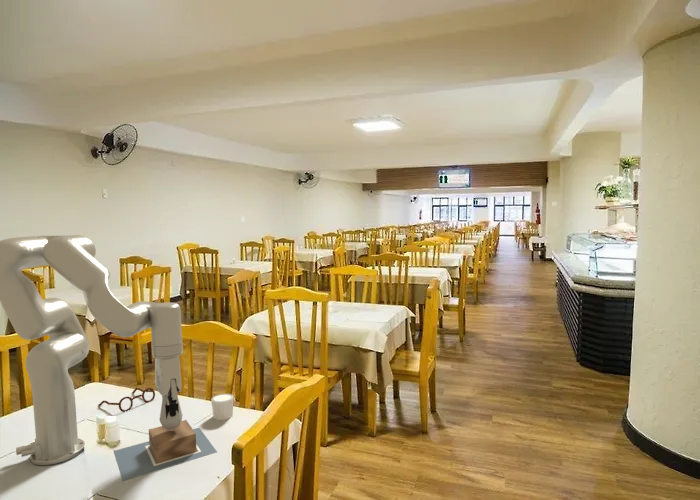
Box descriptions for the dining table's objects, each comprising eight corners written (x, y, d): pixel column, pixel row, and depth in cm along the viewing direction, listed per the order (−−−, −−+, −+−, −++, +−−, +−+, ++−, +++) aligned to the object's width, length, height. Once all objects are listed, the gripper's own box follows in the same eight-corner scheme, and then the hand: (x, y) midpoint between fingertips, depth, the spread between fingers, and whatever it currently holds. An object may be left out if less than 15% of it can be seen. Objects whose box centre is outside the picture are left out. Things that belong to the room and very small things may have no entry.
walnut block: (157, 463, 119) (156, 444, 118) (149, 446, 127) (148, 429, 127) (196, 451, 124) (195, 433, 124) (186, 436, 133) (186, 419, 132)
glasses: (120, 415, 151) (119, 400, 150) (98, 406, 157) (97, 392, 157) (156, 400, 162) (155, 386, 161) (133, 393, 169) (132, 379, 168)
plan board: (123, 484, 111) (122, 480, 111) (113, 454, 125) (113, 450, 125) (217, 455, 124) (217, 451, 124) (199, 430, 138) (199, 427, 138)
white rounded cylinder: (238, 418, 146) (238, 397, 145) (219, 426, 141) (218, 404, 140) (226, 412, 151) (226, 391, 150) (207, 419, 146) (206, 398, 145)
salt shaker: (167, 433, 121) (165, 385, 120) (155, 427, 125) (153, 380, 123) (187, 425, 126) (185, 378, 125) (175, 419, 129) (173, 374, 128)
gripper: (146, 344, 128) (150, 408, 130) (159, 360, 114) (162, 431, 116) (174, 339, 132) (177, 401, 134) (190, 354, 119) (193, 423, 120)
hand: (170, 414), depth 125 cm, fingers closed on salt shaker, 3 cm apart
